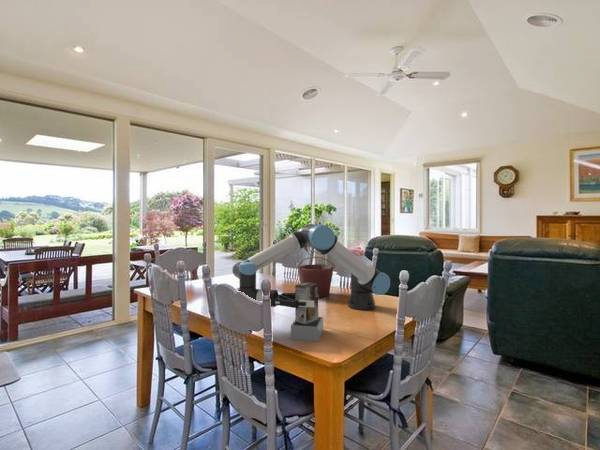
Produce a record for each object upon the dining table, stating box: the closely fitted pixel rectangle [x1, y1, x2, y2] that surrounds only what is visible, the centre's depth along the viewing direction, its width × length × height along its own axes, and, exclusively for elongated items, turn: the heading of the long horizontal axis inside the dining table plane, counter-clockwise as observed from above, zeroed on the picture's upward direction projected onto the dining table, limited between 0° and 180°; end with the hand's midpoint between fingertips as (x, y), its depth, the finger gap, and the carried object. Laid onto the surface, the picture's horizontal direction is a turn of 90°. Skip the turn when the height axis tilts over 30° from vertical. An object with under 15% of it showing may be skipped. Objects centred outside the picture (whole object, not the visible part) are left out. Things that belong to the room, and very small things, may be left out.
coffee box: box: [294, 282, 319, 324], centre depth 155 cm, size 9×6×16 cm
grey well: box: [290, 316, 324, 342], centre depth 156 cm, size 12×15×6 cm
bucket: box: [295, 256, 336, 300], centre depth 227 cm, size 24×22×25 cm
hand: (316, 300), depth 154 cm, fingers closed on coffee box, 10 cm apart
